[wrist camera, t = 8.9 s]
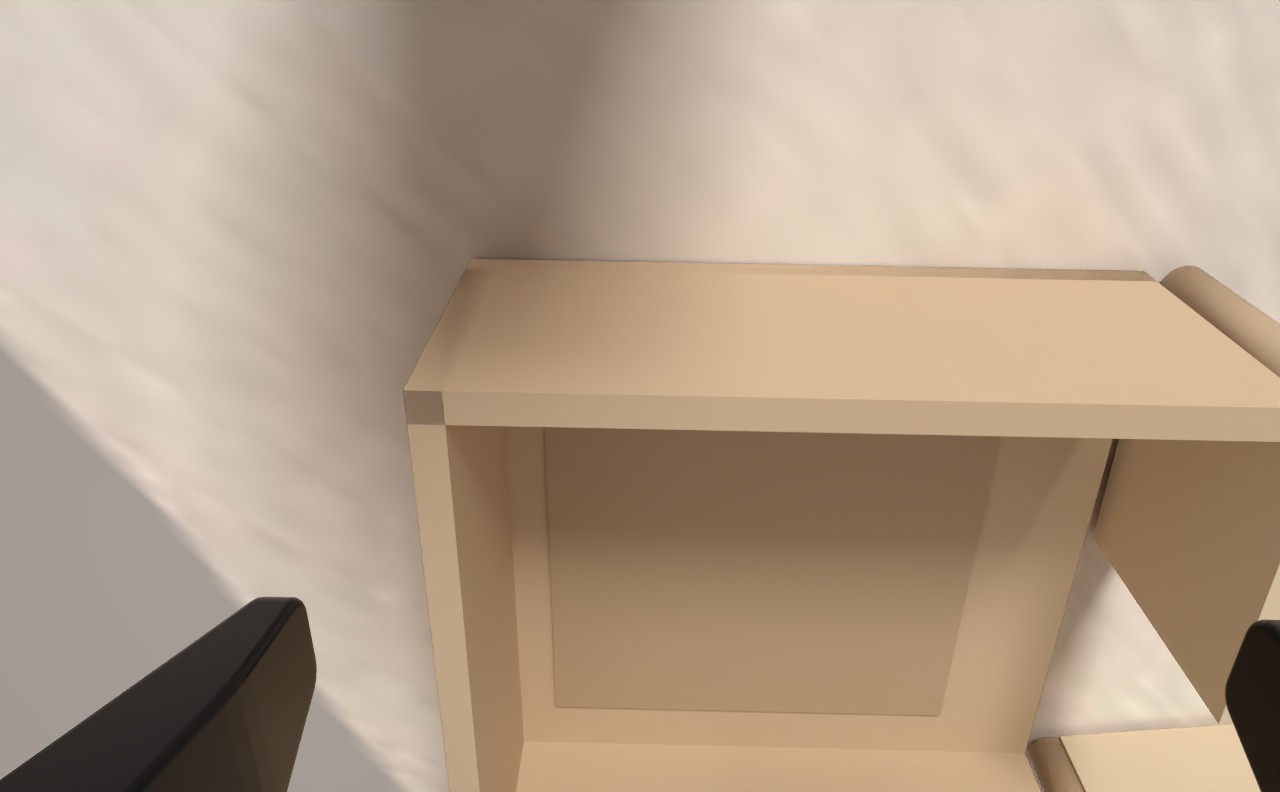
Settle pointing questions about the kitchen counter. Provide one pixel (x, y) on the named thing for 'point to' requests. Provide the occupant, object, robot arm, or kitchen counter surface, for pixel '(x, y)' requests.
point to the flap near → (1201, 516)
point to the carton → (778, 511)
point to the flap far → (1145, 761)
